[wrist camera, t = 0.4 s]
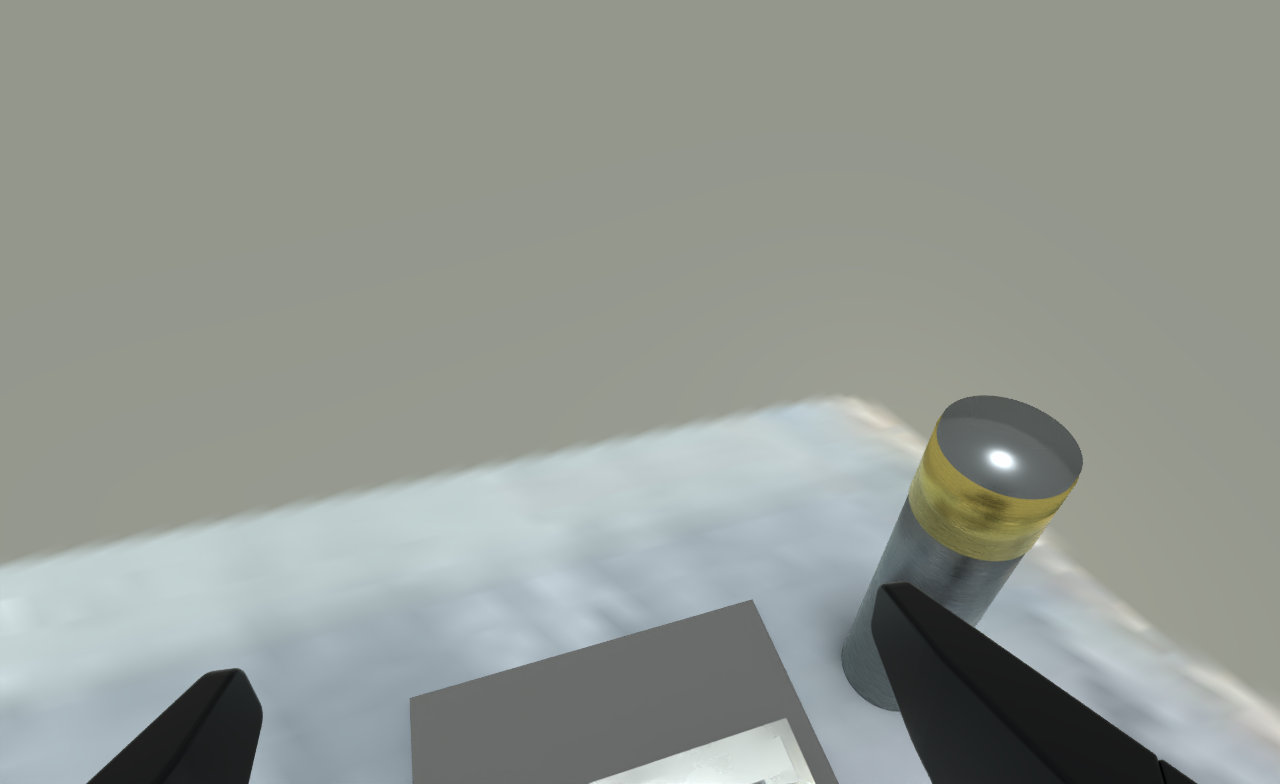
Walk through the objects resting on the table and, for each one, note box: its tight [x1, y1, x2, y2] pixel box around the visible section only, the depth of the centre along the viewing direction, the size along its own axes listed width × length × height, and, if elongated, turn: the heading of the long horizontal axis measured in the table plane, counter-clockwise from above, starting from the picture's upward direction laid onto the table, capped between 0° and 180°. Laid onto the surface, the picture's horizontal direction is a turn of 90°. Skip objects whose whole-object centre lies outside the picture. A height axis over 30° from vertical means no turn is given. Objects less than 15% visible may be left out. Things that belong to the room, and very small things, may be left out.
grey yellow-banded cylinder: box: [842, 396, 1083, 711], centre depth 21 cm, size 4×4×13 cm
